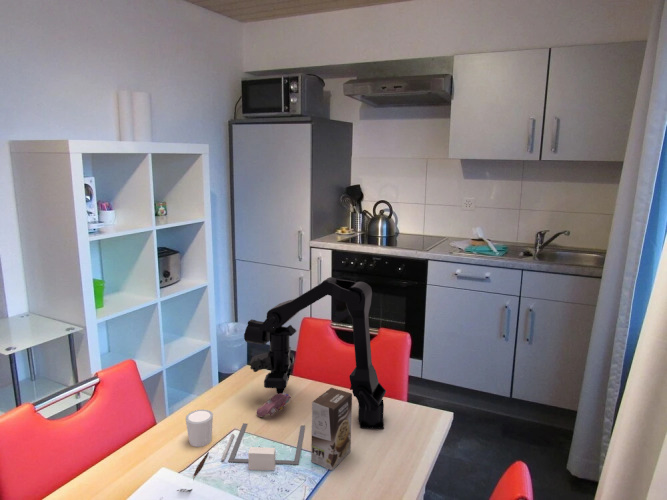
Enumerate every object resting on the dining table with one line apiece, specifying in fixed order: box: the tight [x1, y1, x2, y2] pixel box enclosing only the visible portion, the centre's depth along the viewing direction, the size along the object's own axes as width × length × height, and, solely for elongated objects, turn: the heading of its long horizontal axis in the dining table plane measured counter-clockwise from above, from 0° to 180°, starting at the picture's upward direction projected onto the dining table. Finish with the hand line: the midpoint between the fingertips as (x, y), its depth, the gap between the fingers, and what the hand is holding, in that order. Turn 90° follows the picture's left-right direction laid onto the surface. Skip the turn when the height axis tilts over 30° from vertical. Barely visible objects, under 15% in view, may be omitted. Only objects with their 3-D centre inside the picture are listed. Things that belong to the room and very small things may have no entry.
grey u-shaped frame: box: [220, 422, 306, 471], centre depth 122 cm, size 19×19×4 cm
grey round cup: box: [185, 409, 214, 448], centre depth 123 cm, size 7×7×7 cm
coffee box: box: [310, 387, 353, 471], centre depth 117 cm, size 9×6×16 cm
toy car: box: [255, 391, 292, 418], centre depth 137 cm, size 10×5×7 cm, turn 143°
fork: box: [176, 452, 210, 493], centre depth 111 cm, size 3×16×2 cm, turn 174°
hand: (280, 395), depth 142 cm, fingers closed
